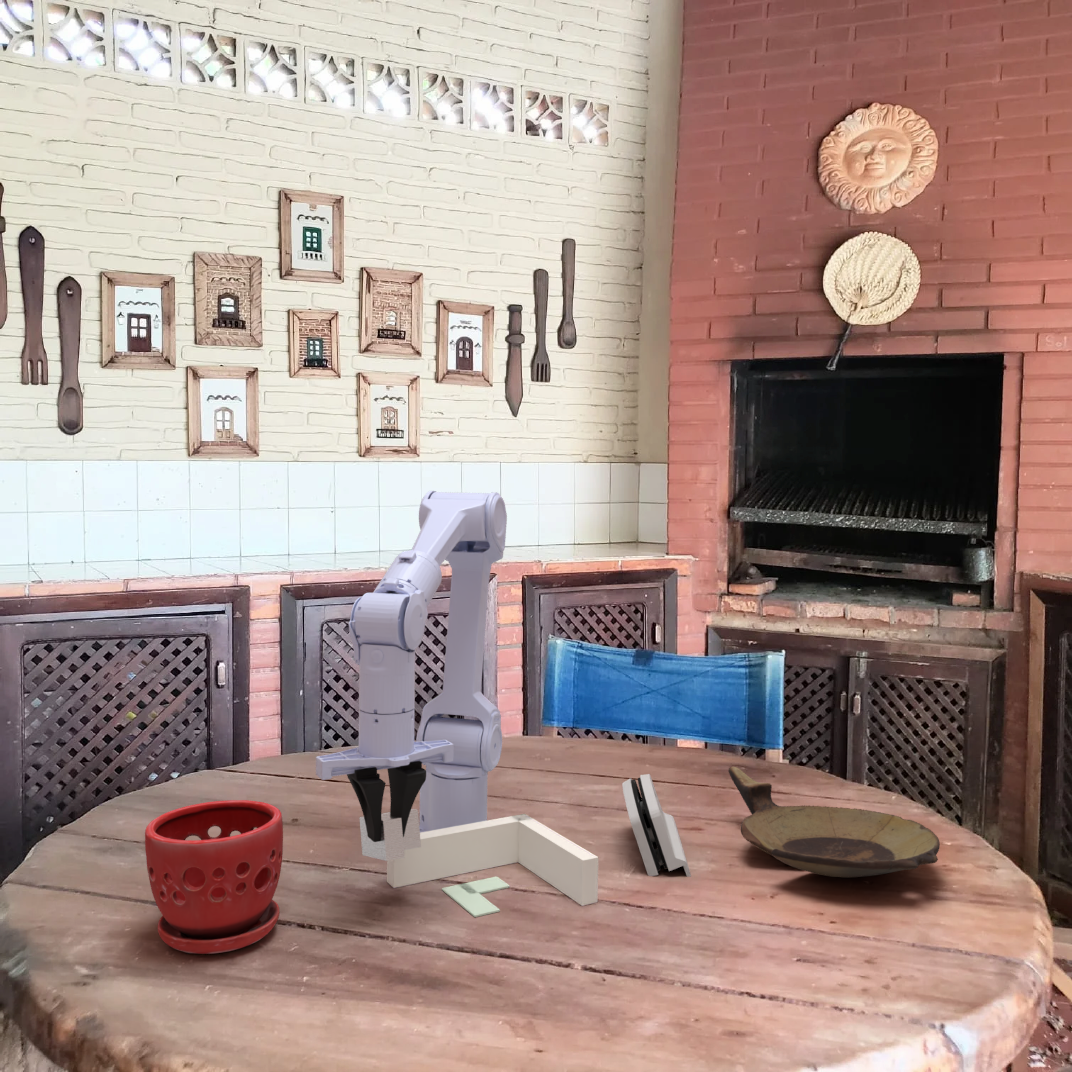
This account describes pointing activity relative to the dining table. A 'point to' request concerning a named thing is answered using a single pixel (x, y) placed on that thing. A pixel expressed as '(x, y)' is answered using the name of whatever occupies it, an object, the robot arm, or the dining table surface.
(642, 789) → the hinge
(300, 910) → the dining table surface
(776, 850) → the brown frying pan
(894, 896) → the dining table surface
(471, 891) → the mat
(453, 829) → the corner wall
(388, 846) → the bracket
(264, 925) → the plant pot
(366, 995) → the dining table surface
